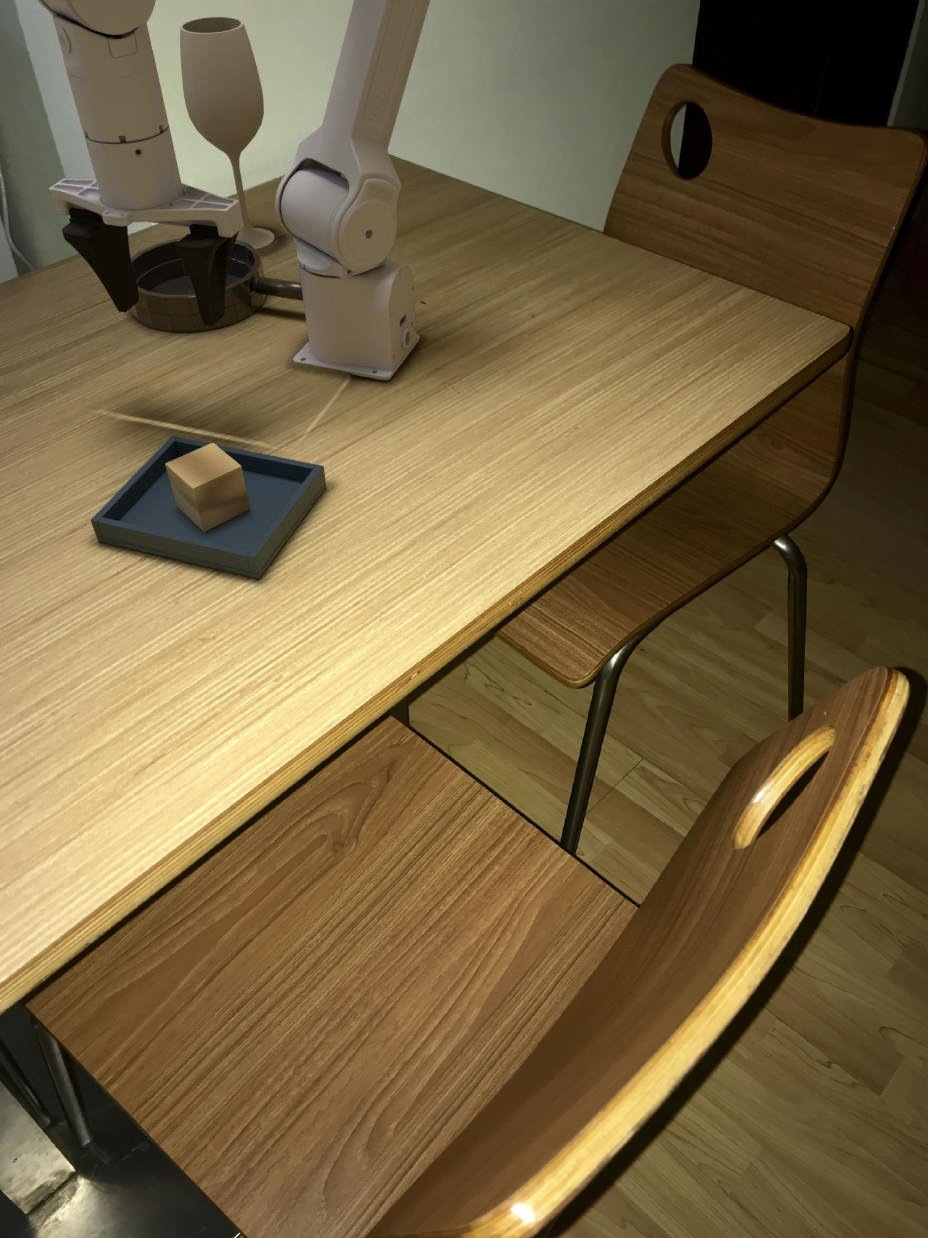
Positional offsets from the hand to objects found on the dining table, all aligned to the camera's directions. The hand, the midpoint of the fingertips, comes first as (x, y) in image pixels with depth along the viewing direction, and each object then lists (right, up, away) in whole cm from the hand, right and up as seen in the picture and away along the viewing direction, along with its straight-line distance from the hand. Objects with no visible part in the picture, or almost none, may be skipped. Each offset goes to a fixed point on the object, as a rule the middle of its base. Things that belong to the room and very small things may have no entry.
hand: (171, 312), depth 77 cm
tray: (+4, -16, -3) cm, 17 cm away
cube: (+4, -16, -3) cm, 16 cm away
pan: (-3, +7, +21) cm, 22 cm away
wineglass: (-1, +17, +31) cm, 35 cm away
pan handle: (+7, +7, +17) cm, 19 cm away
